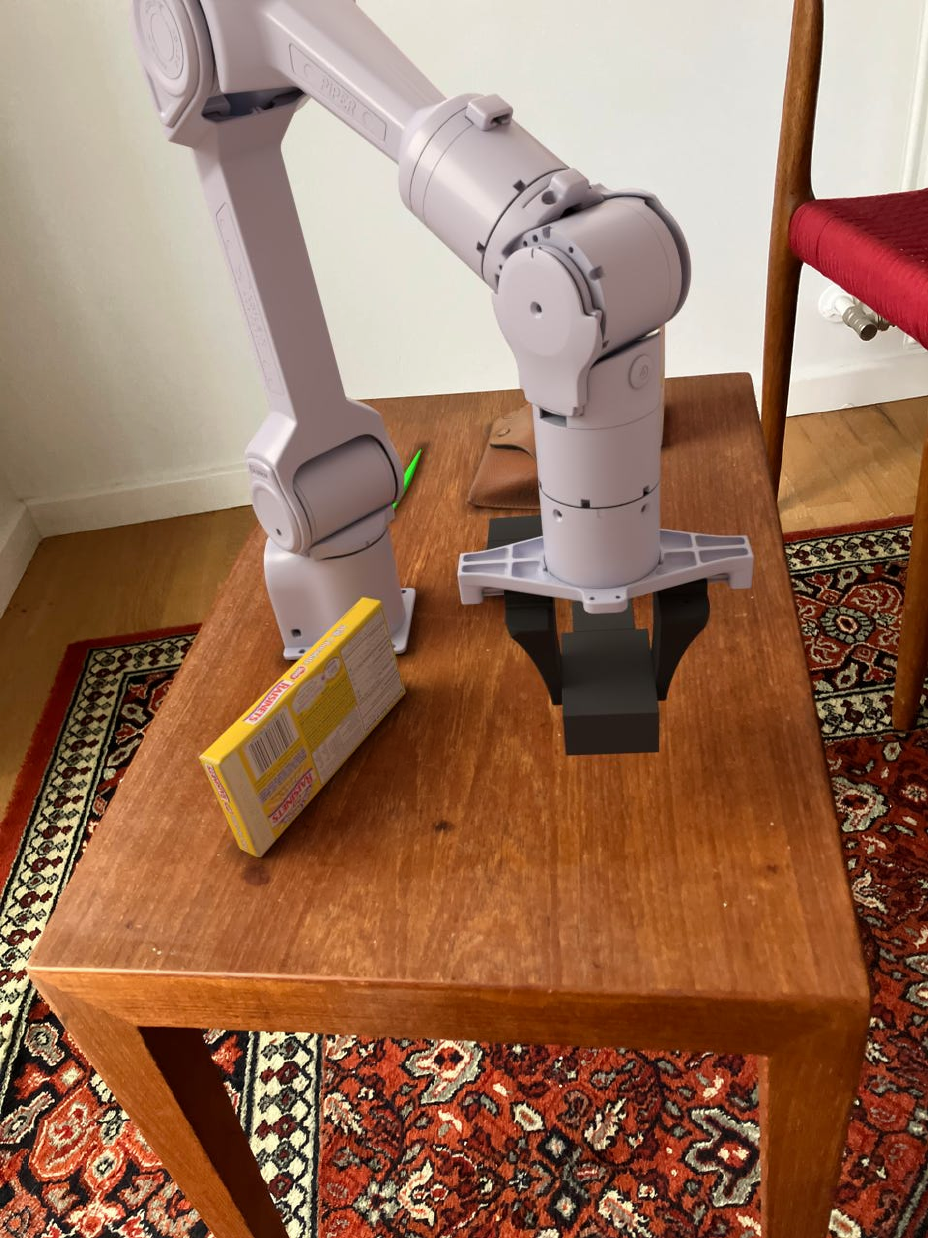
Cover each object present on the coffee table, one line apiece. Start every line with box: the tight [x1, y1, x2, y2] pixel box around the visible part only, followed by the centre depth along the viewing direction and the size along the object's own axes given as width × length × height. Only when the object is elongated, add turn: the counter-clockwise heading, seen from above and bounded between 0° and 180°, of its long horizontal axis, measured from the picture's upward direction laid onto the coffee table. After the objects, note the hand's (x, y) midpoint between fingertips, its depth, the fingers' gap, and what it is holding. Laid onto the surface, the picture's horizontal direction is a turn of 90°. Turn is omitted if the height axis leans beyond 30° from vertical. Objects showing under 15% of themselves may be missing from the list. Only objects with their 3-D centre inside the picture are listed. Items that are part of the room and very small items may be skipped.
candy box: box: [198, 597, 407, 858], centre depth 60 cm, size 16×2×8 cm, turn 149°
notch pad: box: [486, 514, 543, 550], centre depth 77 cm, size 12×7×3 cm, turn 86°
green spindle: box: [393, 447, 423, 510], centre depth 92 cm, size 1×14×1 cm, turn 169°
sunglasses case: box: [466, 402, 541, 511], centre depth 92 cm, size 18×7×7 cm
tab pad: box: [560, 598, 660, 757], centre depth 54 cm, size 5×10×3 cm, turn 176°
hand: (607, 691), depth 53 cm, fingers closed on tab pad, 5 cm apart
